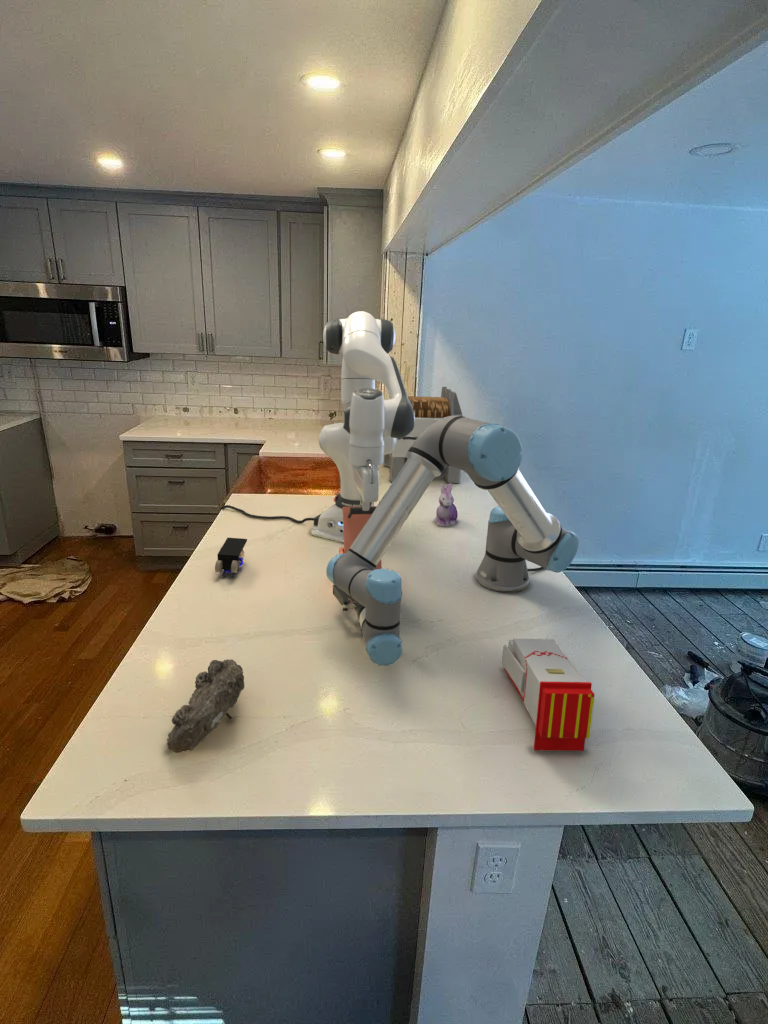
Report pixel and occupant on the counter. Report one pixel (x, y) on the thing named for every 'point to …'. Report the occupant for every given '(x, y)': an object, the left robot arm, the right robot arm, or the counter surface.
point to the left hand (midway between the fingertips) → (364, 508)
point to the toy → (550, 693)
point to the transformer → (425, 416)
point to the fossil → (206, 705)
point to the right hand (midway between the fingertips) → (361, 574)
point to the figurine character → (230, 556)
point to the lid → (355, 525)
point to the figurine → (446, 508)
